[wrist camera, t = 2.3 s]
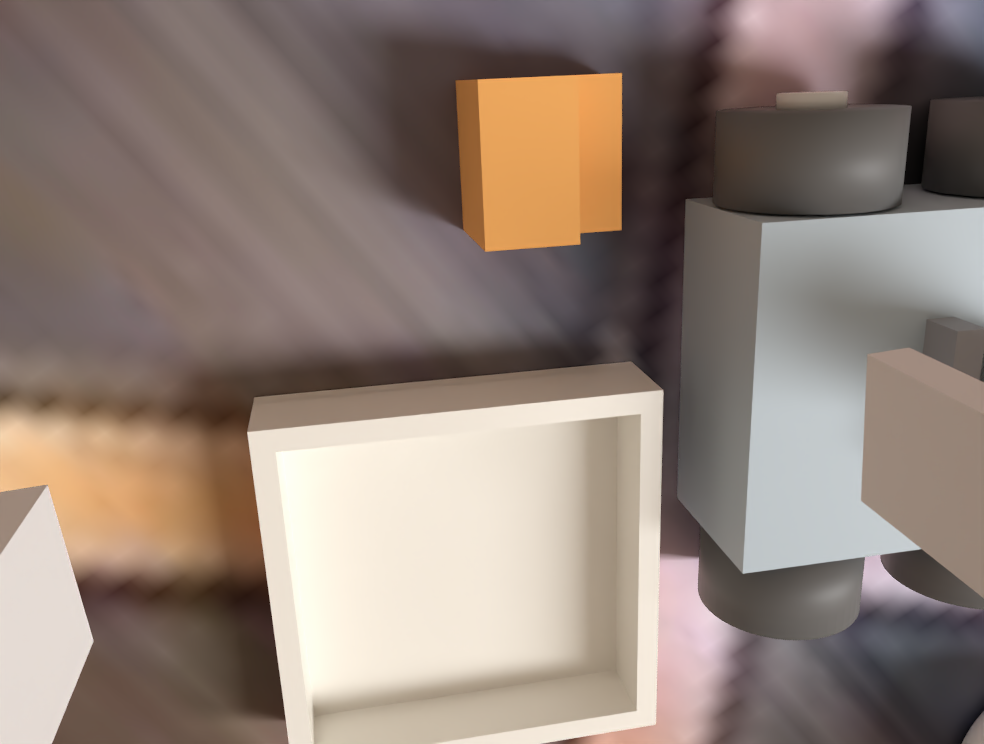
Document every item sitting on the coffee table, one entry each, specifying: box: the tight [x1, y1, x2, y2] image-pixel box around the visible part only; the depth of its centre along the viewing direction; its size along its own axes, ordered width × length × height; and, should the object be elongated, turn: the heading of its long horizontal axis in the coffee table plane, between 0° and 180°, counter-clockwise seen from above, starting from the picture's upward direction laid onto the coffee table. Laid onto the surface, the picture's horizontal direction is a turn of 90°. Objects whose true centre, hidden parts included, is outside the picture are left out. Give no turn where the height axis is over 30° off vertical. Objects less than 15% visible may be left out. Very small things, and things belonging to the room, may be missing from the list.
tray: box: [247, 361, 663, 744], centre depth 33 cm, size 14×14×3 cm
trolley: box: [677, 91, 984, 640], centre depth 32 cm, size 14×19×8 cm
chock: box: [456, 73, 622, 252], centre depth 29 cm, size 5×5×4 cm
